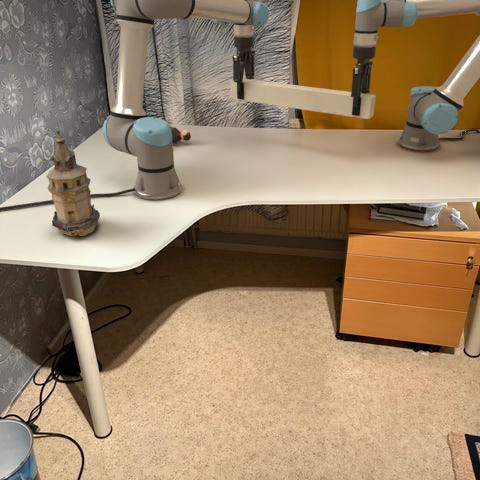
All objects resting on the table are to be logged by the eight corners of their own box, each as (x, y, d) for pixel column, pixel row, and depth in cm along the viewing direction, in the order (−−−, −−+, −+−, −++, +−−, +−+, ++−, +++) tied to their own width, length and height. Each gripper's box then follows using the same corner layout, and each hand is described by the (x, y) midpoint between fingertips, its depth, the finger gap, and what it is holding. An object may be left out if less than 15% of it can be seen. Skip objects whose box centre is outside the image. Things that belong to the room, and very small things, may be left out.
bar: (230, 99, 216) (230, 80, 212) (237, 96, 220) (236, 77, 216) (368, 119, 190) (371, 98, 186) (373, 115, 194) (376, 95, 190)
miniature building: (80, 214, 164) (63, 117, 149) (111, 225, 157) (96, 125, 142) (44, 231, 154) (22, 130, 140) (75, 244, 147) (55, 139, 133)
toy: (131, 118, 232) (198, 118, 226) (134, 133, 235) (199, 133, 229) (107, 138, 210) (180, 138, 204) (110, 153, 213) (182, 154, 207)
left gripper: (240, 40, 195) (240, 103, 207) (263, 33, 209) (263, 93, 220) (222, 38, 199) (224, 101, 210) (247, 32, 212) (247, 91, 224)
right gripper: (366, 51, 174) (359, 121, 185) (383, 42, 187) (376, 108, 199) (344, 49, 177) (339, 118, 188) (363, 40, 191) (357, 105, 202)
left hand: (244, 97), depth 215 cm, fingers closed on bar, 5 cm apart
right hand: (358, 113), depth 193 cm, fingers closed on bar, 5 cm apart
